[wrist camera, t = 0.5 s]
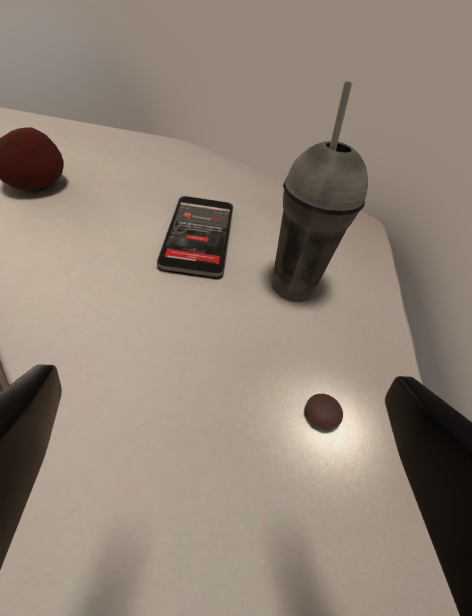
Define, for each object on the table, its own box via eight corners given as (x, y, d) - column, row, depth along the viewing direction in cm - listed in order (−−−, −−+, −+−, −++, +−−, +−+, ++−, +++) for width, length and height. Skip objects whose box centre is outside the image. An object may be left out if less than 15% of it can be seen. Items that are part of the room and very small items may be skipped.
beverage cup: (338, 299, 39) (433, 97, 25) (285, 319, 36) (360, 102, 21) (298, 259, 43) (360, 66, 29) (247, 275, 40) (289, 66, 25)
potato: (-14, 190, 45) (-38, 133, 40) (37, 166, 50) (22, 113, 45) (33, 208, 43) (14, 151, 38) (80, 181, 49) (69, 128, 44)
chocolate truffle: (304, 395, 30) (309, 385, 29) (339, 403, 30) (345, 394, 29) (302, 428, 28) (307, 419, 27) (339, 437, 28) (346, 428, 27)
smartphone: (155, 264, 38) (180, 195, 48) (155, 269, 38) (180, 199, 49) (223, 274, 38) (233, 203, 48) (222, 279, 39) (232, 207, 49)
